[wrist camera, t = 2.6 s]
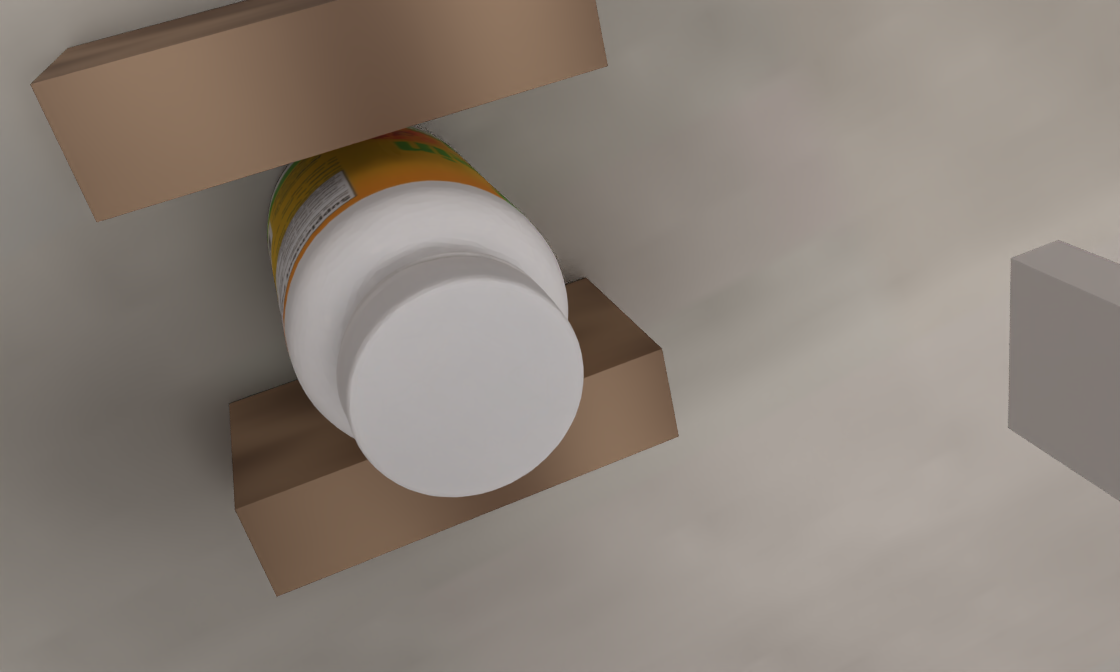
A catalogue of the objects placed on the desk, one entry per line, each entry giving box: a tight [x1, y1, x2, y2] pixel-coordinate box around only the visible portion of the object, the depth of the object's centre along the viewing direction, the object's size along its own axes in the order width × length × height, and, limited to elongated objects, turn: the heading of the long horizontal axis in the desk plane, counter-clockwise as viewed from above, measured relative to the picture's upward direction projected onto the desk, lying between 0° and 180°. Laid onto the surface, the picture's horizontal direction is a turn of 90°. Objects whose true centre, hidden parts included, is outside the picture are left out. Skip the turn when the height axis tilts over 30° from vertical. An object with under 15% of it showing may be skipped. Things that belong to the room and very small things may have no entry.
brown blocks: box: [30, 0, 679, 596], centre depth 21 cm, size 10×12×5 cm
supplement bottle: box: [267, 126, 584, 497], centre depth 19 cm, size 5×5×10 cm
